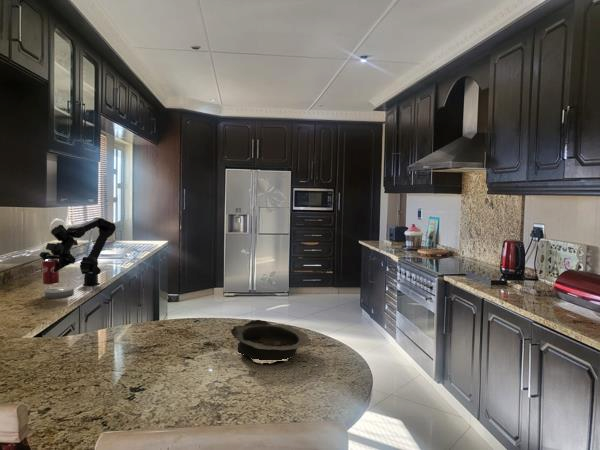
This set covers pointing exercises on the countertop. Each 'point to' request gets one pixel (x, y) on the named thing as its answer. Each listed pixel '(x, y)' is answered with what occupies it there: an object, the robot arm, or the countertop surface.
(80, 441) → the countertop surface
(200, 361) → the countertop surface
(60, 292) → the riser
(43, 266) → the soda can
